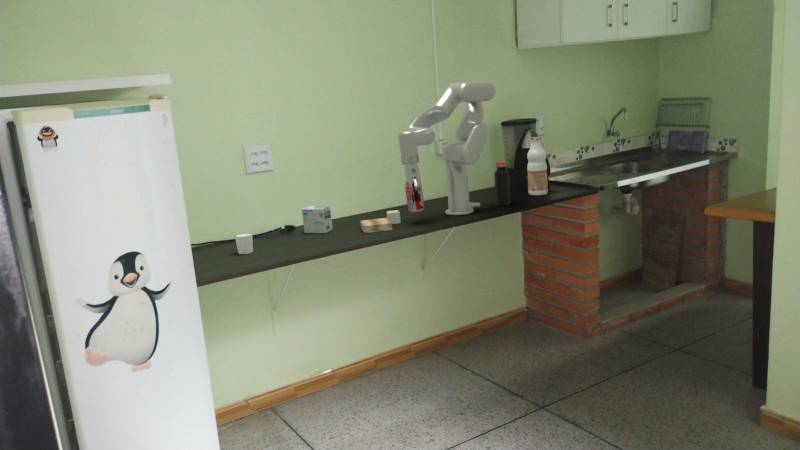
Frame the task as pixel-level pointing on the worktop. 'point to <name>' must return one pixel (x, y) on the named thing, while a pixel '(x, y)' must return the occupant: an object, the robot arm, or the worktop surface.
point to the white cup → (244, 243)
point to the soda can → (416, 205)
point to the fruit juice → (537, 168)
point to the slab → (376, 225)
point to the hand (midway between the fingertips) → (414, 200)
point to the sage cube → (394, 216)
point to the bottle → (502, 184)
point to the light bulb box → (317, 219)
